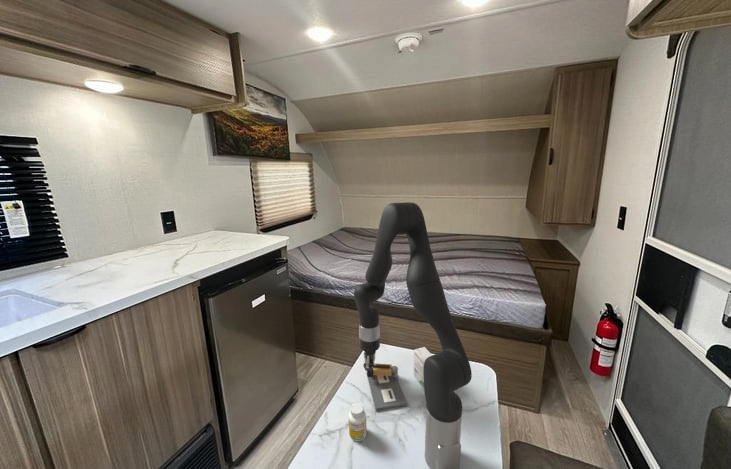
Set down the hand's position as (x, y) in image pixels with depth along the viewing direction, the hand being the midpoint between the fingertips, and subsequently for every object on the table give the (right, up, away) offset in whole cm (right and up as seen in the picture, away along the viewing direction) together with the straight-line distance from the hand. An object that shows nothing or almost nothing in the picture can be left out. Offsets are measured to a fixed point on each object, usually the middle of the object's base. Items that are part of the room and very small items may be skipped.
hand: (370, 375), depth 107 cm
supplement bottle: (-4, -9, -19) cm, 21 cm away
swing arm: (+5, 0, +3) cm, 6 cm away
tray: (+6, -4, -1) cm, 7 cm away
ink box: (+21, -3, +2) cm, 21 cm away
